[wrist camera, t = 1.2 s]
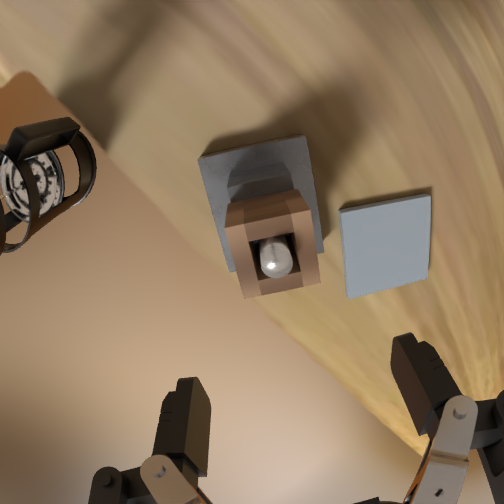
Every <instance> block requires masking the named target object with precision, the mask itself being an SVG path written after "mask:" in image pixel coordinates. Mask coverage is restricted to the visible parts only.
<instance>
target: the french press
mask: <svg viewBox="0 0 504 504" xmlns="http://www.w3.org/2000/svg"><path fill="white" fill-rule="evenodd" d="M79 129H80V125H79V124H77V123H76V122H75V121H74V120H72V119H71V118H70V117H65V118H59V119H53V120H48V121H43V122H38V123H33V124H29V125H24V126H20V127H16V128H15V129H14V130H13V131H12V133H11V136H10V138H9V140H8V143H7V145H5V144H0V166H1V171H0V184H1V190H2V193H3V194H2V195H1V196H0V255H1V254H2V253H9V252H13V251H15V250H17V249H18V248H20V247H21V246H22V245H23V244H24V243H25V242H27V241H28V239H30V237H31V236H32V235H33V234H35V233H36V232H37V231H39V230H40V229H41V228H42V227H44V226H45V225H46V224H47V223H49V222H50V221H51V220H53V219H54V218H55V217H57V216H58V215H59V214H61V213H62V212H64V211H66V210H67V209H69V208H70V207H73V206H75V205H77V204H79V203H80V202H82V201H83V200H84V199H85V198H86V197H87V196H88V194H89V193H90V191H91V189H92V187H93V185H94V182H95V178H96V169H97V167H96V158H95V154H94V151H93V148H92V146H91V144H90V142H89V141H88V139H87V138H86V137H85V136H84V135H83V134H82V133H81V132H80V131H79ZM66 145H70V147H71V148H72V150H73V151H74V154H75V156H76V158H77V162H78V166H79V175H80V177H79V186H78V190H77V191H76V192H75V193H74V194H72V195H71V196H68V197H64V190H65V182H64V173H63V169H62V166H61V163H60V161H59V158H58V156H57V155H56V153H55V152H54V150H55V149H57V148H60V147H63V146H66ZM2 199H5V201H6V203H7V205H8V207H9V208H10V210H11V211H10V212H8V213H7V214H5V215H4V209H3V206H2V202H1V200H2ZM22 221H25V222H26V223H29V225H28V230H27V233H26V235H25V237H24V239H23V241H22V242H21V243H17V244H7V243H5V241H6V233H7V232H8V231H9V230H11V229H12V228H13V227H15V226H16V225H18V224H19V223H20V222H22Z"/></svg>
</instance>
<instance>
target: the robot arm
mask: <svg viewBox="0 0 504 504" xmlns="http://www.w3.org/2000/svg"><path fill="white" fill-rule="evenodd" d="M391 370H392V374H393V376H394V379H395V381H396V383H397V385H398V388H399V390H400V392H401V394H402V397H403V399H404V401H405V404H406V406H407V408H408V411H409V413H410V415H411V418H412V420H413V423H414V425H415V427H416V430H417V432H418V435H419V436H421V435H423V434H426V433H427V434H428V437H429V441H428V444H427V447H426V450H425V453H424V455H423V458H422V461H421V464H420V466H419V468H418V471H417V473H416V476H415V478H414V480H413V483H412V485H411V486H410V488H409V490H408V492H407V494H406V496H405V498H404V501H403V503H398V502H391V501H379V497H376V498H373V499H369V500H366V501H362V502H358V503H354V504H457V501H458V498H459V496H460V493H461V490H462V487H463V484H464V481H465V477H466V474H467V471H468V467H469V461H468V453H469V450H470V449H477V451H478V454H479V457H480V459H481V462H482V465H483V468H484V470H485V473H486V476H487V479H488V482H489V485H490V488H491V491H492V494H493V498H494V501H495V504H504V390H503V391H502V392H500V394H499V395H498V397H497V398H496V399H490V400H484V401H474V400H473V399H472V398H470V397H468V396H464V395H463V394H462V393H461V392H460V390H459V388H458V386H457V385H456V383H455V381H454V380H453V378H452V376H451V374H450V373H449V371H448V369H447V368H446V366H444V363H443V361H442V359H440V356H439V355H438V353H437V351H436V350H435V348H434V347H433V346H431V345H430V344H428V343H427V342H426V341H422V342H419V343H418V341H417V340H416V338H415V336H414V335H413V334H412V333H411V332H409V333H406V334H403V335H400V336H396V337H394V338H393V344H392V353H391ZM210 419H211V404H210V400H209V397H208V395H207V394H206V392H205V390H204V388H203V386H202V384H201V382H200V380H199V379H198V378H197V377H189V378H180V379H178V382H177V387H176V391H173V392H169V393H168V394H167V396H166V397H165V399H164V400H163V402H162V407H161V414H160V417H159V423H158V427H157V432H156V437H155V442H154V448H153V453H152V456H151V457H149V458H147V459H146V460H145V461H144V462H143V464H142V466H140V467H137V468H134V469H130V470H126V471H121V472H120V471H118V470H117V469H116V468H113V467H103V468H101V469H100V470H98V471H97V472H96V474H95V475H94V477H93V481H92V486H91V491H90V496H89V502H88V504H213V503H212V502H211V501H210V500H209V498H208V497H207V496H206V495H205V494H204V493H203V491H202V490H201V489H200V487H198V477H207V467H208V450H209V435H210Z"/></svg>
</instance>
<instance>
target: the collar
mask: <svg viewBox="0 0 504 504" xmlns="http://www.w3.org/2000/svg"><path fill="white" fill-rule="evenodd" d="M224 229H225V233H226V236H227V240H228V244H229V247H230V251H231V254H232V258H233V261H234V265H235V268H236V272H237V275H238V279H239V282H240V286H241V289H242V293H243V296H244V298H245V299H246V298H251V297H256V296H261V295H266V294H271V293H276V292H281V291H286V290H290V289H295V288H300V287H304V286H309V285H314V284H318V283H321V281H320V273H319V265H318V258H317V250H316V243H315V236H314V230H313V223H312V216H311V210H310V208H309V207H308V205H307V203H306V202H305V200H304V199H303V197H302V195H301V194H300V192H299V190H298V189H294V190H289V191H284V192H279V193H274V194H269V195H265V196H260V197H255V198H251V199H246V200H242V201H237V202H233V203H229V204H228V205H227V212H226V219H225V226H224ZM287 233H290V238H291V241H288V242H287V244H288V247H289V251H290V254H291V257H292V261H293V266H292V269H291V271H290V272H289V273H288V274H287V275H286V276H284V277H281V278H271V277H269V276H267V275H266V274H265V273H264V272H263V271H262V268H261V260H260V251H259V248H255V246H254V242H253V241H254V240H259V239H263V238H268V237H273V236H278V235H282V234H287Z"/></svg>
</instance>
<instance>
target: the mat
mask: <svg viewBox="0 0 504 504" xmlns="http://www.w3.org/2000/svg"><path fill="white" fill-rule="evenodd" d="M339 219H340V228H341V237H342V248H343V259H344V271H345V285H346V295H347V297H348V299H351V298H355V297H359V296H363V295H367V294H371V293H375V292H379V291H383V290H387V289H391V288H394V287H398V286H402V285H405V284H409V283H413V282H416V281H420V280H423V279H427V275H428V263H429V248H430V222H431V196H430V195H428V194H427V193H425V194H419V195H414V196H408V197H403V198H398V199H392V200H387V201H382V202H377V203H371V204H366V205H361V206H356V207H351V208H346V209H341V210H339Z"/></svg>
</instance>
